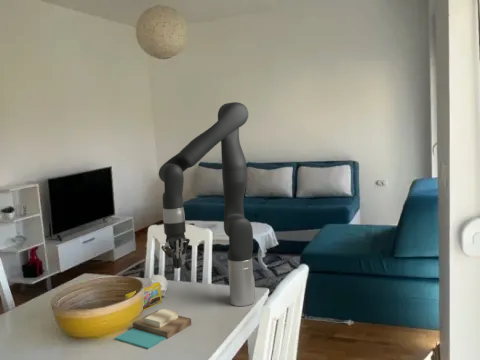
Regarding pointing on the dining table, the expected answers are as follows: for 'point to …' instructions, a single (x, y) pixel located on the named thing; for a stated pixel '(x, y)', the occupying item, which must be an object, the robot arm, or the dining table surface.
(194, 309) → the dining table surface
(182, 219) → the robot arm
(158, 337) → the mat
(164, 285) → the cat figurine
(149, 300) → the candy box
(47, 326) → the dining table surface
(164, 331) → the wooden board
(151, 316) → the tile
